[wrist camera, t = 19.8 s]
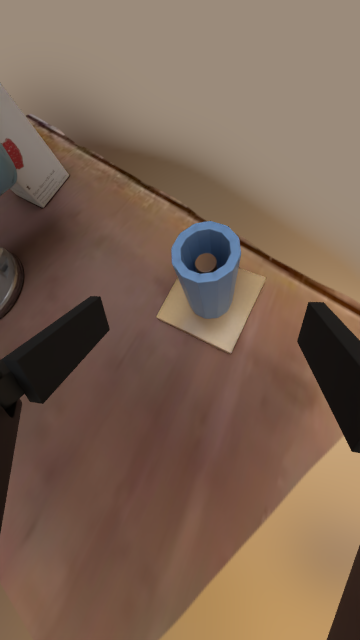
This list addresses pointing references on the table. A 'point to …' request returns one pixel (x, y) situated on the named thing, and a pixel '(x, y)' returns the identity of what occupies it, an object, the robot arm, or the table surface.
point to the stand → (215, 329)
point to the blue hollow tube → (208, 288)
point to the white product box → (28, 155)
